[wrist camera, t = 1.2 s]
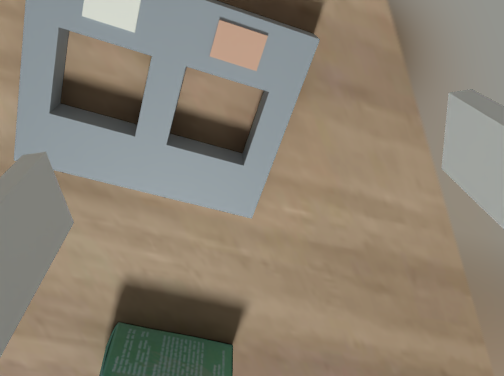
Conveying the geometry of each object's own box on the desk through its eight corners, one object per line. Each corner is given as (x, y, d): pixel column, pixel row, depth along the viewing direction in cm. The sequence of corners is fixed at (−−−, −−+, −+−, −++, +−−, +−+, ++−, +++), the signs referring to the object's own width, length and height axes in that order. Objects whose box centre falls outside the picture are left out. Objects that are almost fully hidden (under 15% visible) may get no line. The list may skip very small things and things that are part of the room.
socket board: (26, 147, 36) (12, 161, 34) (44, -59, 29) (28, -60, 27) (250, 204, 40) (251, 219, 38) (313, 33, 33) (320, 39, 31)
